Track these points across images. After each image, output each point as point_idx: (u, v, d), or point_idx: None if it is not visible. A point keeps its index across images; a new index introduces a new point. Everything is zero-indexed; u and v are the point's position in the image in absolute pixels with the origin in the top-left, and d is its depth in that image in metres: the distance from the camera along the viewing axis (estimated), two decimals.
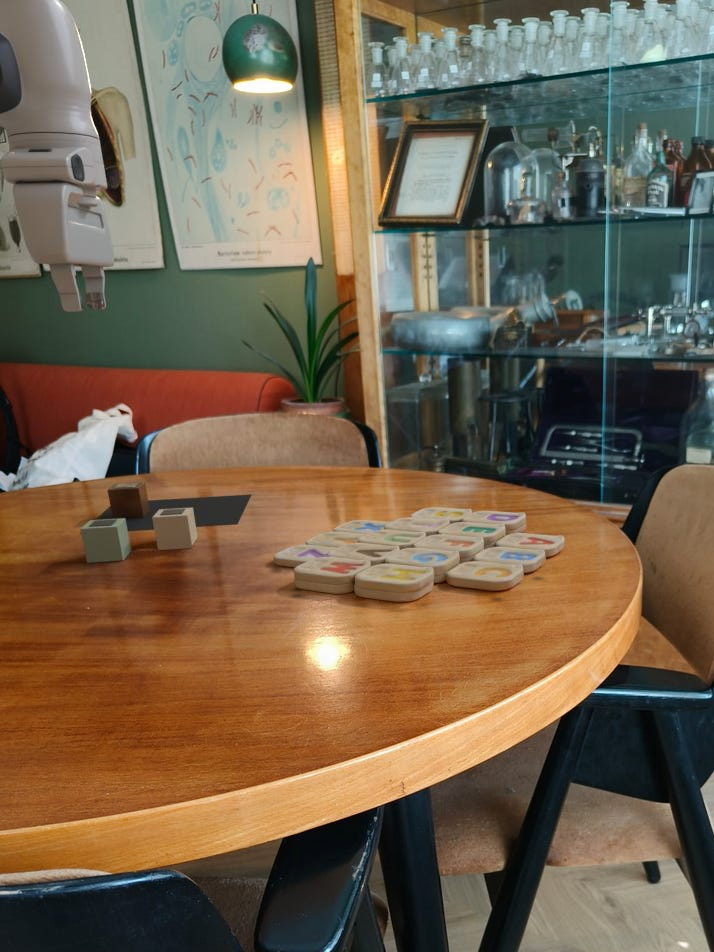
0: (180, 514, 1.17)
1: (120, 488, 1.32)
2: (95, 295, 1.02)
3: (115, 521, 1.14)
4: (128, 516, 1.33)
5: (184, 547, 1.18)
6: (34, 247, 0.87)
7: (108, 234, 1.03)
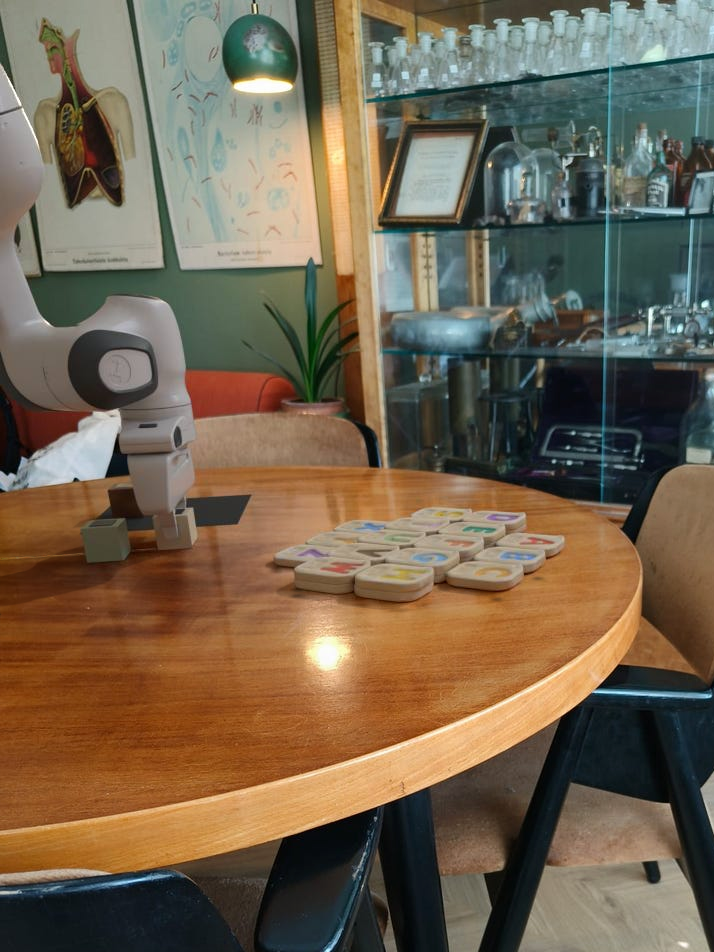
0: (180, 514, 1.17)
1: (120, 488, 1.32)
2: None
3: (115, 521, 1.14)
4: (128, 516, 1.33)
5: (184, 547, 1.18)
6: (144, 505, 1.07)
7: (191, 460, 1.24)
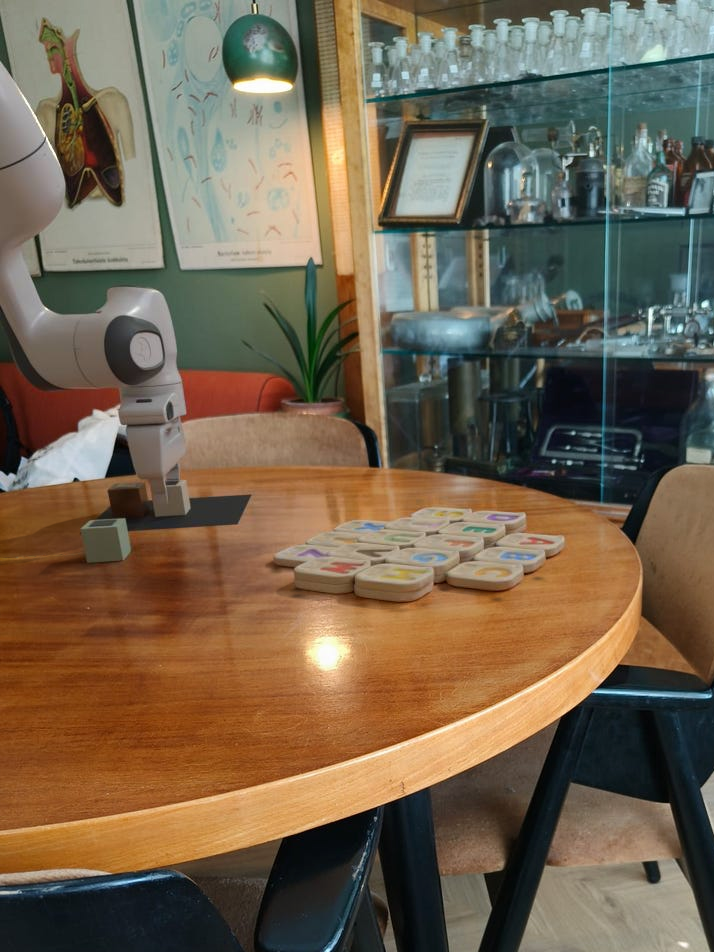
0: (175, 485, 1.33)
1: (120, 488, 1.32)
2: None
3: (115, 521, 1.14)
4: (128, 516, 1.33)
5: (178, 514, 1.34)
6: (140, 470, 1.23)
7: (182, 434, 1.40)
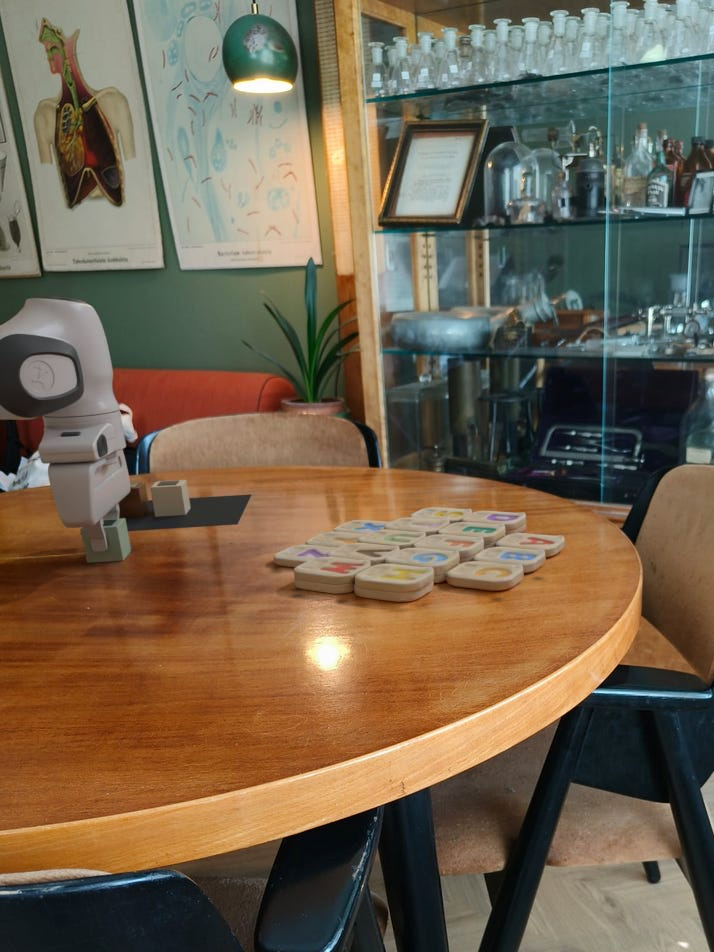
0: (175, 485, 1.33)
1: None
2: None
3: (115, 521, 1.14)
4: (128, 516, 1.33)
5: (178, 514, 1.34)
6: (66, 517, 1.03)
7: (125, 468, 1.19)
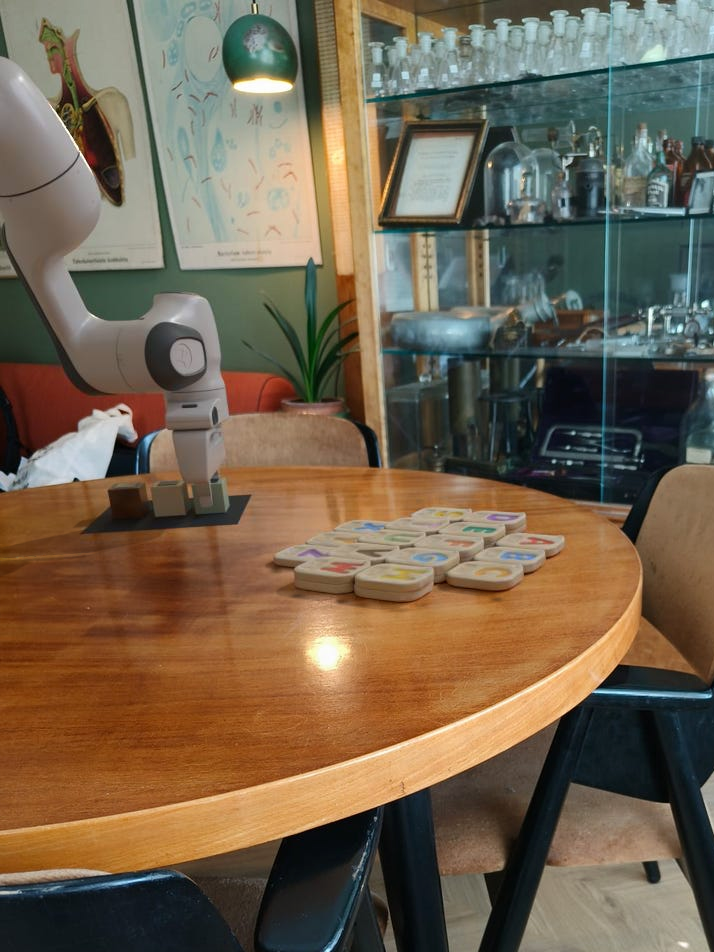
0: (175, 485, 1.33)
1: (120, 488, 1.32)
2: None
3: (218, 479, 1.35)
4: (128, 516, 1.33)
5: (178, 514, 1.34)
6: (186, 475, 1.24)
7: (222, 438, 1.41)
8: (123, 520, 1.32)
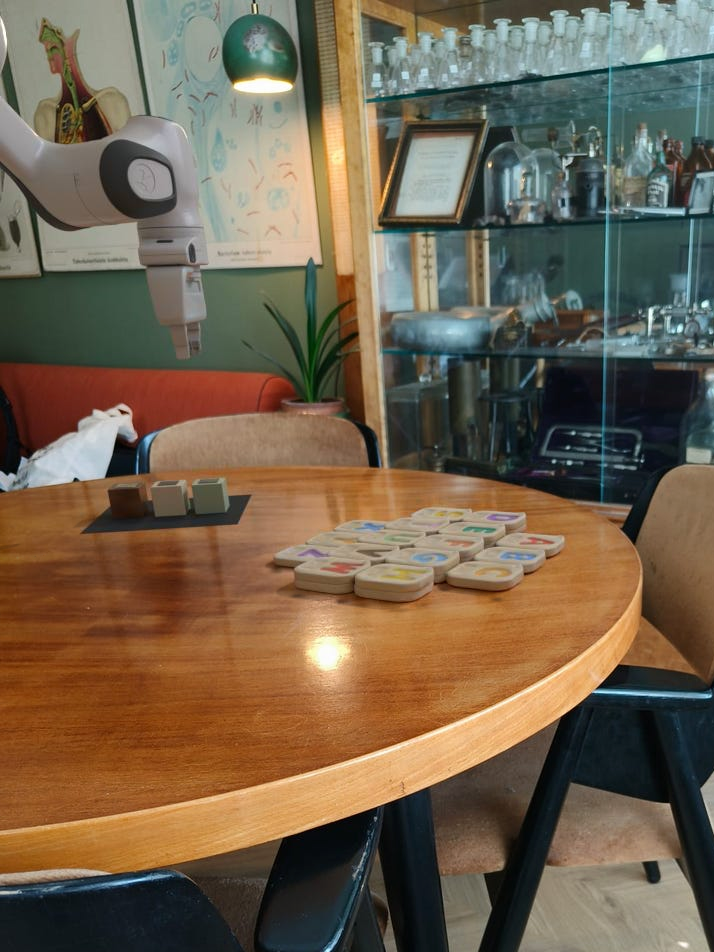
0: (175, 485, 1.33)
1: (120, 488, 1.32)
2: (194, 343, 1.31)
3: (218, 479, 1.35)
4: (128, 516, 1.33)
5: (178, 514, 1.34)
6: (161, 314, 1.16)
7: (203, 295, 1.33)
8: (123, 520, 1.32)
